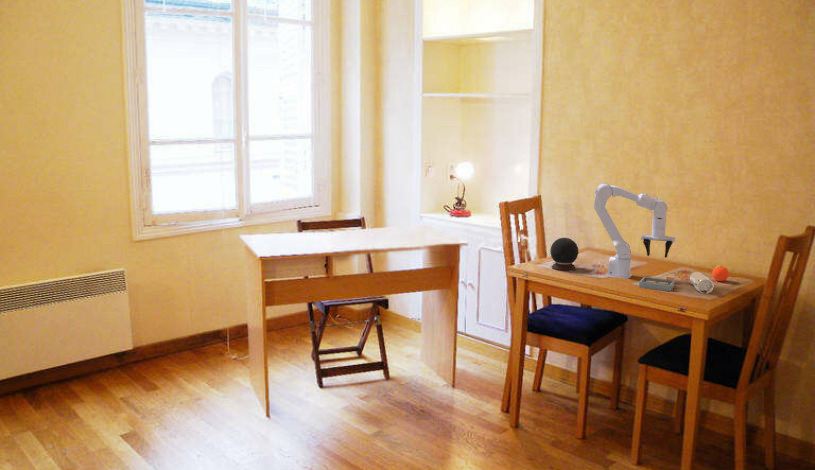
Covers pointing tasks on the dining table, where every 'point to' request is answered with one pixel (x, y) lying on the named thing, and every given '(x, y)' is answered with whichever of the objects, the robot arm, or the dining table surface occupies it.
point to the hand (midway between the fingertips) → (657, 256)
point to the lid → (670, 277)
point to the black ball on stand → (564, 254)
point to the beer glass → (701, 282)
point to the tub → (657, 286)
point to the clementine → (720, 273)
